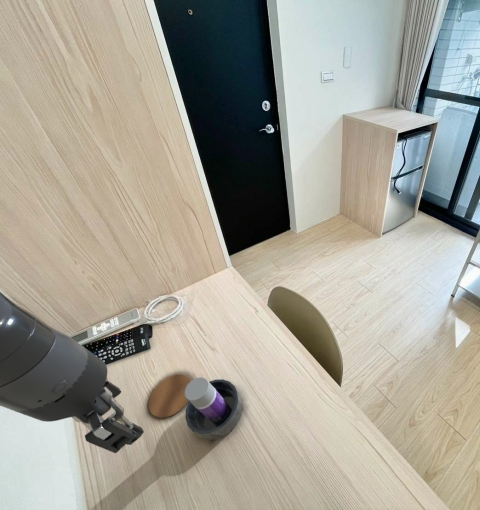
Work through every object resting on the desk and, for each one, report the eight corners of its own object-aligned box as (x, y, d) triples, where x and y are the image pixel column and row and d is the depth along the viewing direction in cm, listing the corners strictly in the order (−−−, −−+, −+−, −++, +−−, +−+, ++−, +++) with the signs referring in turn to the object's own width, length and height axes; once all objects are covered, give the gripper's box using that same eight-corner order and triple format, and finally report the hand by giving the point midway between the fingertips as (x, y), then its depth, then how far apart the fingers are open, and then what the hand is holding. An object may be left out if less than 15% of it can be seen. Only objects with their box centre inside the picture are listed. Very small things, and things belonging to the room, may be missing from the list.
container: (233, 408, 65) (214, 384, 55) (218, 427, 62) (194, 406, 52) (219, 397, 67) (198, 372, 56) (204, 415, 64) (178, 392, 53)
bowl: (193, 448, 59) (184, 442, 56) (194, 397, 67) (186, 388, 63) (245, 428, 62) (240, 421, 58) (241, 381, 70) (235, 372, 66)
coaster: (146, 424, 63) (145, 424, 62) (152, 382, 69) (151, 382, 69) (192, 408, 65) (192, 408, 65) (193, 369, 72) (193, 368, 72)
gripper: (-11, 357, 31) (81, 403, 43) (15, 455, 25) (115, 478, 36) (67, 315, 35) (132, 367, 47) (106, 390, 29) (170, 429, 40)
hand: (124, 415), depth 42 cm, fingers open, 8 cm apart
